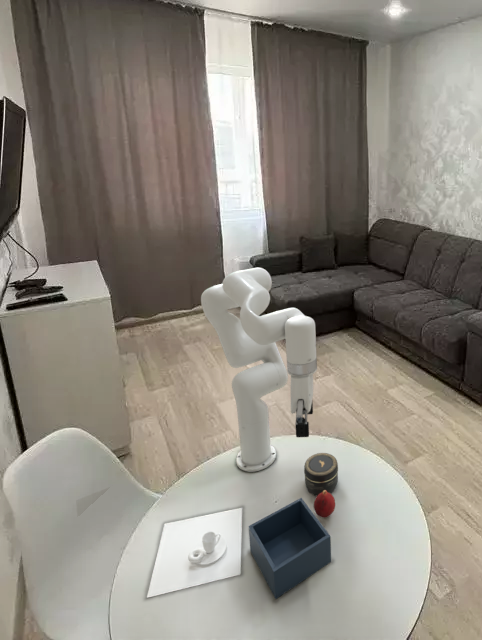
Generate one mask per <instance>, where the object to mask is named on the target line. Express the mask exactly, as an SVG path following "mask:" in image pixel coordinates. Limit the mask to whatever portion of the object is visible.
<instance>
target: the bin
mask: <svg viewBox="0 0 482 640" xmlns="http://www.w3.org/2000/svg"><path fill="white" fill-rule="evenodd" d="M248 539H249V550H250V553H251V555H252V557H253V559H254V561H255V563H256V565H257V566H258V569H259V570H260V572H261V574H262V576H263V578H264V580H265V582H266V584H267V585H268V588H269V589H270V591H271V593H272V595H273V597H274V599H275V600H277V599H278V598H280V597H281V596H283V595H285V593H287V592H289V591H290V590H292V589H293V588H295V587H296V586H298V585H299V584H301V583H302V582H303V581H305V580H306V579H308V578H309V577H311V576H312V575H314V574H315V573H316V572H318V571H320V570H321V569H322V568H324V567H326V566H327V565H329V564H330V563H332V537H331V535H330V533H329V531H327V530H326V528H325V526H323V524H322V523H321V522H320V520H319V519H318V518H317V515H315V513H314V511H312V510H311V508H310V507H309V506H308V504H307V503H306V502H305V500H304V499H303V498H302V497H300V498H297V499H296V500H293V501H292V502H291V503H288V504H287V505H285V506H283V507H281V508H279V509H277V510H276V511H274V512H271V513H270V514H268V515H266V516H264V517H263V518H261V519H259V520H257V521H255V522H253V523H252V524H250V525H248Z"/></svg>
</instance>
